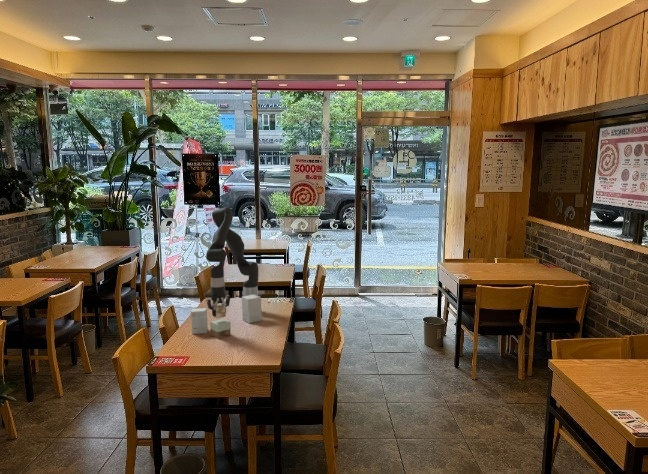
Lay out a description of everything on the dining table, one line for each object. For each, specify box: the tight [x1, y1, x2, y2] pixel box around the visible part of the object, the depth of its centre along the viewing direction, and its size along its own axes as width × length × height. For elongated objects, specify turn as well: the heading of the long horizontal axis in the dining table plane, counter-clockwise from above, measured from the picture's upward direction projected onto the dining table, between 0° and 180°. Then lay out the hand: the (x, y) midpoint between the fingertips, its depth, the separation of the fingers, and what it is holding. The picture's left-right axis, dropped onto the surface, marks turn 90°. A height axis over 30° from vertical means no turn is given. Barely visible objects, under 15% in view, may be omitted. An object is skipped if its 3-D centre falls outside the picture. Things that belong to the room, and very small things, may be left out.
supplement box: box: [241, 295, 263, 324], centre depth 277 cm, size 9×9×15 cm
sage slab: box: [209, 318, 232, 332], centre depth 251 cm, size 8×8×4 cm
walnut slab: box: [210, 328, 232, 339], centre depth 252 cm, size 8×8×4 cm
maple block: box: [215, 303, 227, 319], centre depth 250 cm, size 5×5×6 cm
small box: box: [190, 307, 209, 335], centre depth 257 cm, size 8×6×13 cm
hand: (219, 315), depth 251 cm, fingers closed on maple block, 5 cm apart
